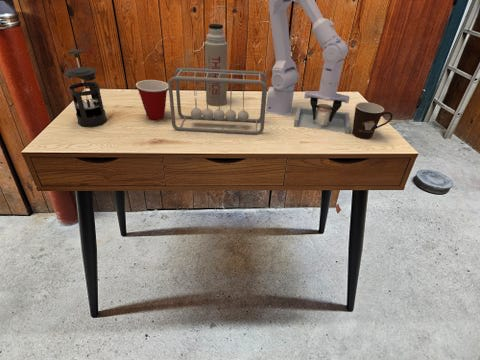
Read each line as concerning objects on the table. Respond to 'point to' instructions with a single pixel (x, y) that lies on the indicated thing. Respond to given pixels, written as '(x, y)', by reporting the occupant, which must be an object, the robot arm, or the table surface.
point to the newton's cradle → (219, 113)
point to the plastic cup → (153, 98)
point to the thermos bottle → (216, 64)
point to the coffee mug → (367, 119)
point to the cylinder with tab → (323, 114)
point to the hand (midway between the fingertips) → (322, 119)
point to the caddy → (337, 124)
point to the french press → (87, 105)
